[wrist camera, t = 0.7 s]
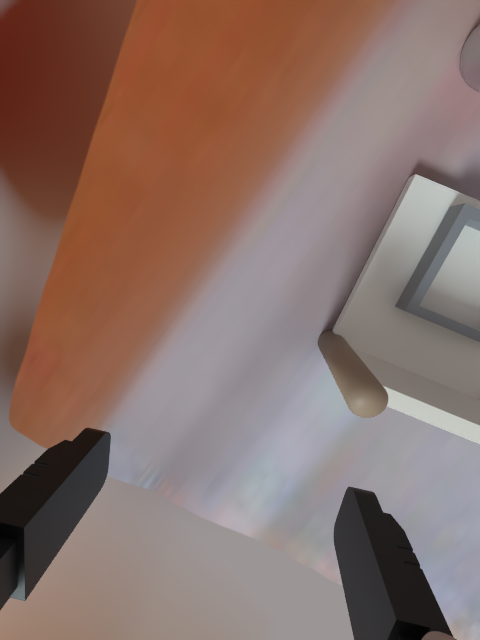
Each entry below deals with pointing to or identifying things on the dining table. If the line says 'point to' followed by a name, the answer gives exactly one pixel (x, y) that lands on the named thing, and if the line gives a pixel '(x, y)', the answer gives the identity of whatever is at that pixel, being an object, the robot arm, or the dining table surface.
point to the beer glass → (471, 59)
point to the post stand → (416, 315)
